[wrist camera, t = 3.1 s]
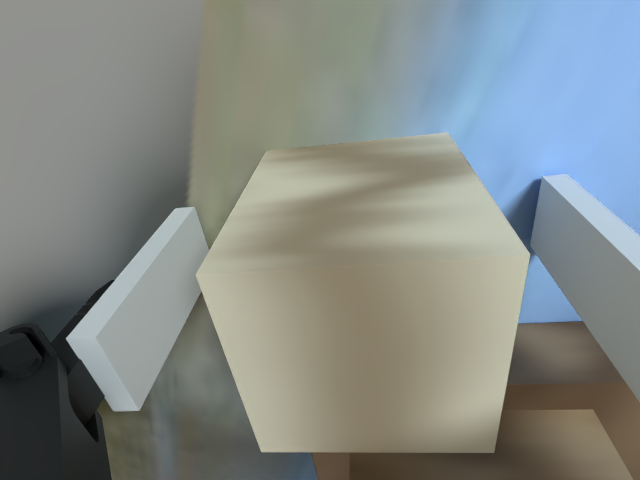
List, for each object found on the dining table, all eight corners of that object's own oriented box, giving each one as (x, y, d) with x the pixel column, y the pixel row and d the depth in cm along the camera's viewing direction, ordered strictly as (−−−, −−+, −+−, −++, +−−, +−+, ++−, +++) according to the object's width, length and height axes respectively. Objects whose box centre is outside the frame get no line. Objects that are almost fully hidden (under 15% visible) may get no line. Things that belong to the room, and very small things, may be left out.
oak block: (447, 131, 13) (530, 254, 7) (441, 279, 16) (494, 452, 10) (266, 150, 13) (195, 274, 7) (295, 287, 16) (261, 452, 11)
